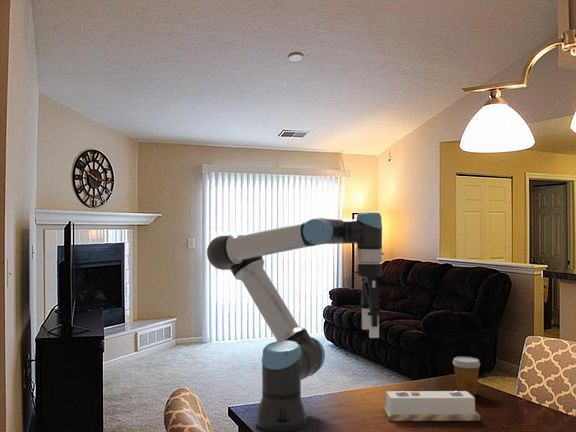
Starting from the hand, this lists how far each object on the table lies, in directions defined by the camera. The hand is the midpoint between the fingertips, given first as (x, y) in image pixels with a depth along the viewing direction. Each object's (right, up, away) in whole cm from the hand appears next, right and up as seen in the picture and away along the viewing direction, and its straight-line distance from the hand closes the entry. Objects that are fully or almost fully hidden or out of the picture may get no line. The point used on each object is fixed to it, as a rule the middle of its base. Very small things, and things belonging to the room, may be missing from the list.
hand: (370, 333), depth 155 cm
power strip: (+20, -25, +5) cm, 32 cm away
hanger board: (+20, -27, +5) cm, 34 cm away
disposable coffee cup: (+39, -28, +28) cm, 56 cm away
